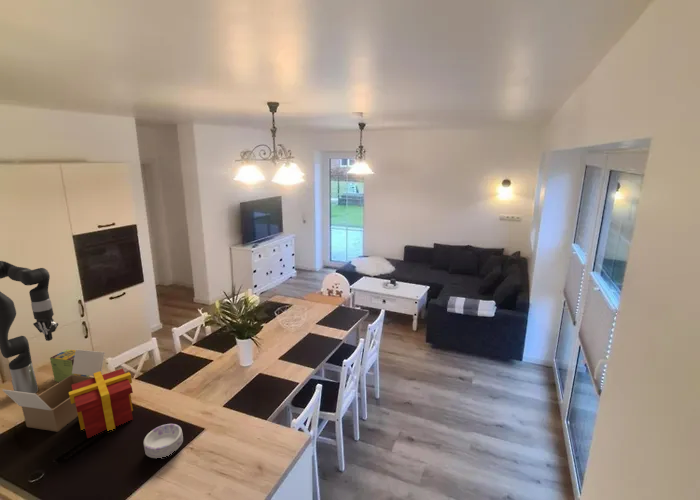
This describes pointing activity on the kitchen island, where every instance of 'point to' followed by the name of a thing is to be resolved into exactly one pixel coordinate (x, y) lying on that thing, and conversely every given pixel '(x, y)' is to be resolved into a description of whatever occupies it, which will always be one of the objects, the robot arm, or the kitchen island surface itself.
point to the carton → (54, 406)
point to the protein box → (63, 365)
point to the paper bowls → (163, 441)
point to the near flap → (27, 399)
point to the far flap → (87, 362)
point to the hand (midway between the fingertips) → (49, 340)
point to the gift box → (103, 401)
